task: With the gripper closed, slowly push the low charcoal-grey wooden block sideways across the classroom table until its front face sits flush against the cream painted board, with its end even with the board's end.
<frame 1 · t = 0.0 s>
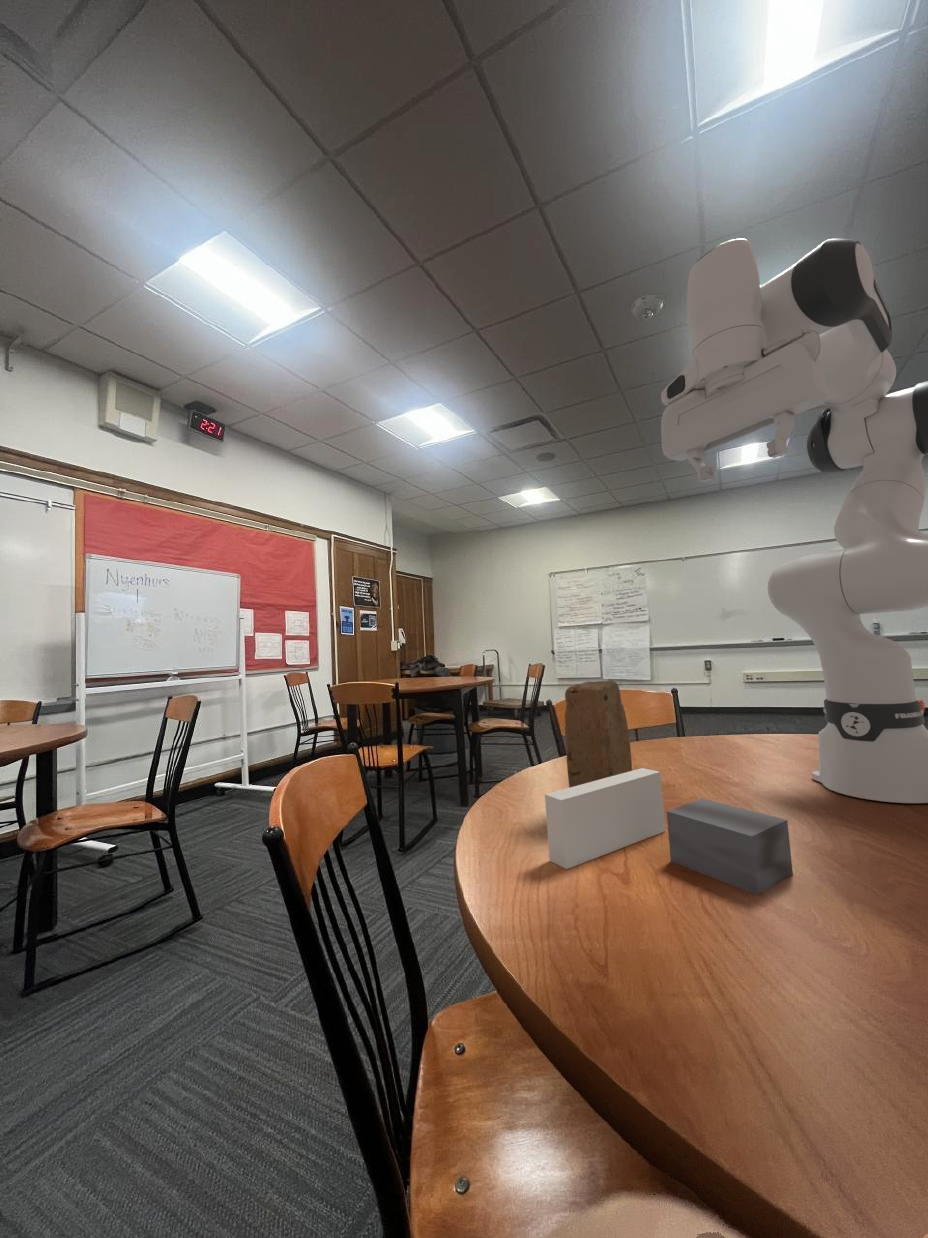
hand: (739, 468, 64), 48 cm above the table, tool pointing down, fingers open, 8 cm apart
charcoal block: (729, 869, 55), on the table
cream board: (610, 845, 63), on the table
block: (604, 810, 76), on the table
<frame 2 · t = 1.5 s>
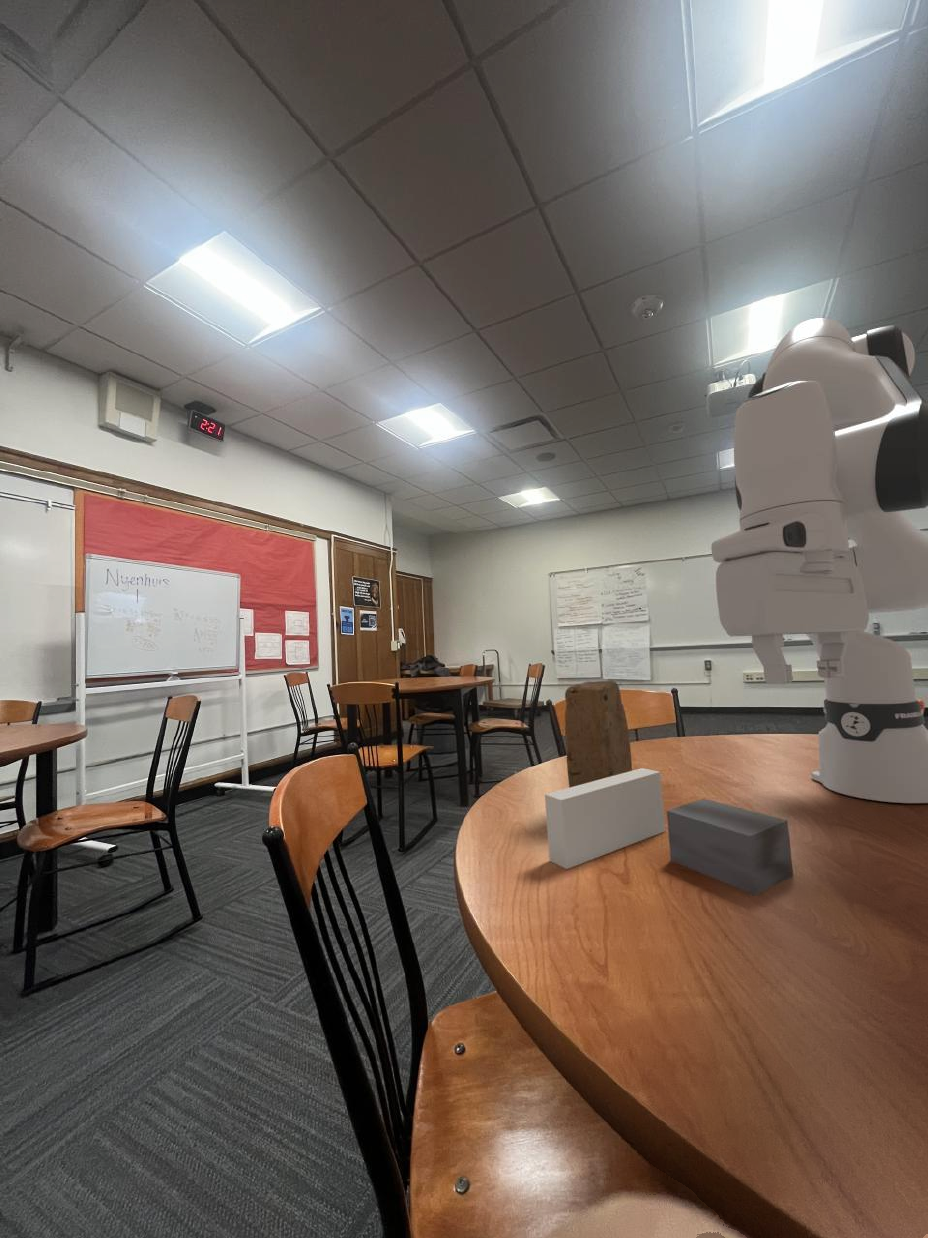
hand: (806, 680, 48), 21 cm above the table, tool pointing down, fingers open, 8 cm apart
nothing on the table moved.
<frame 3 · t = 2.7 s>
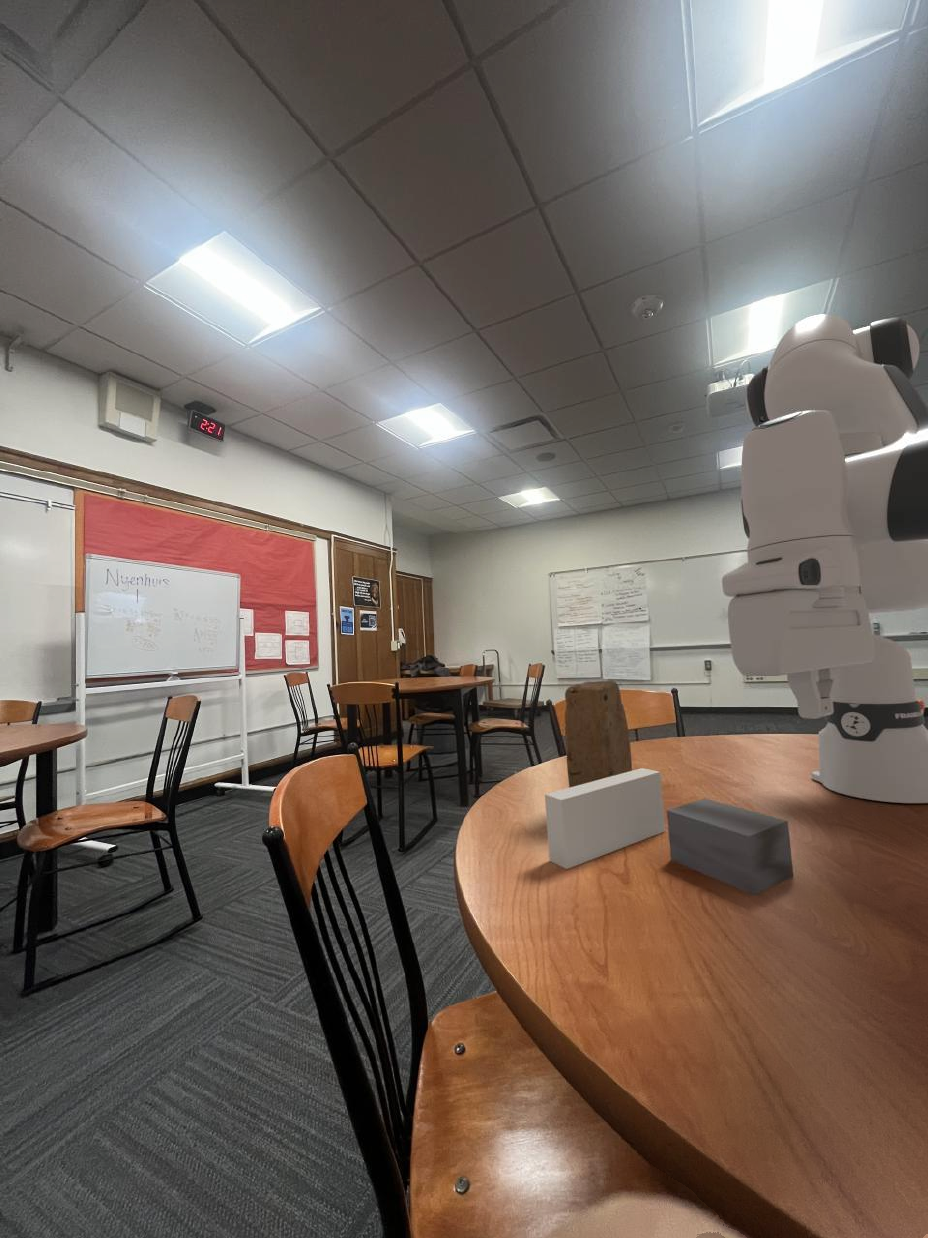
hand: (816, 716, 47), 18 cm above the table, tool pointing down, fingers closed
nothing on the table moved.
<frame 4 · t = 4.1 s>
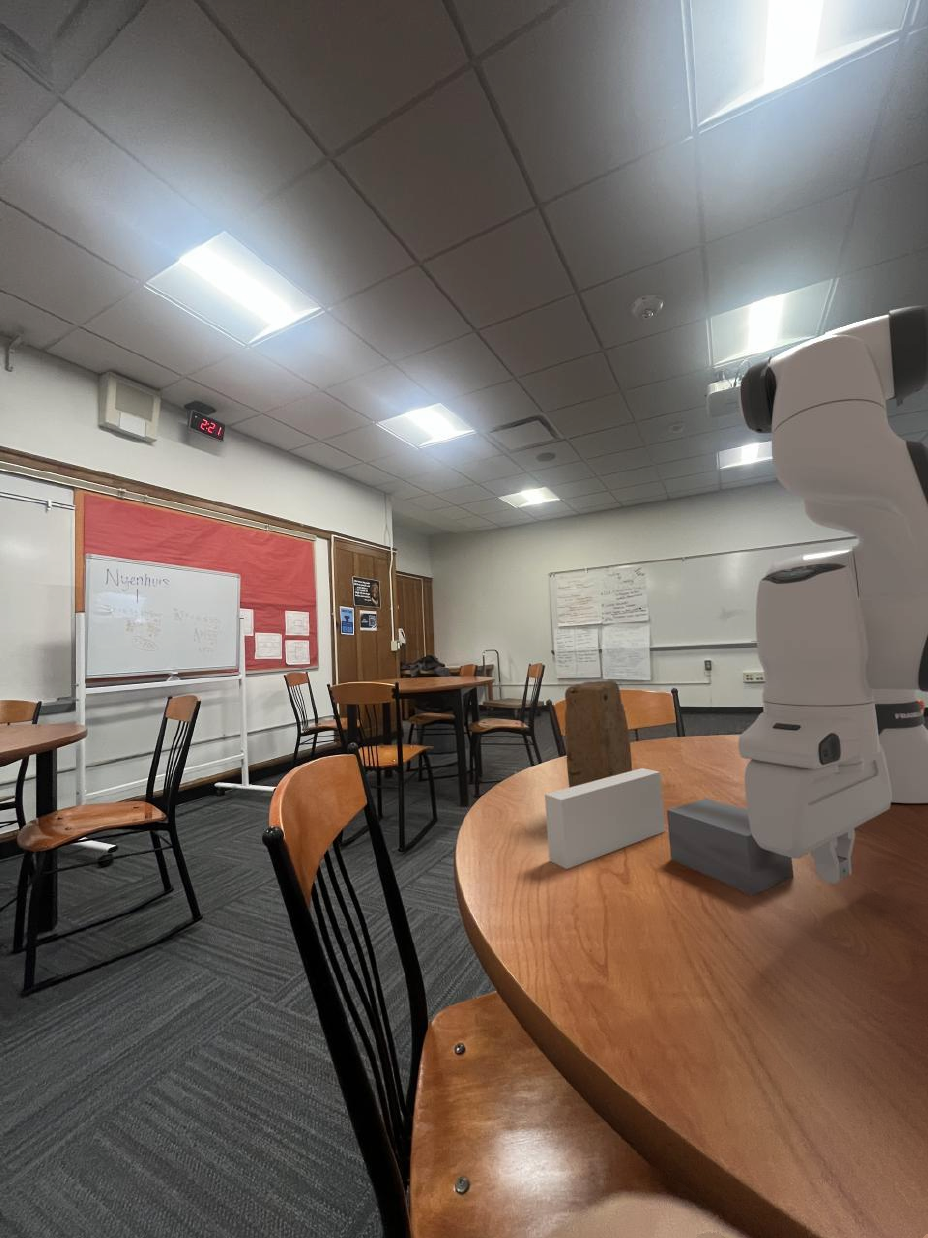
hand: (834, 877, 46), 3 cm above the table, tool pointing down, fingers closed
nothing on the table moved.
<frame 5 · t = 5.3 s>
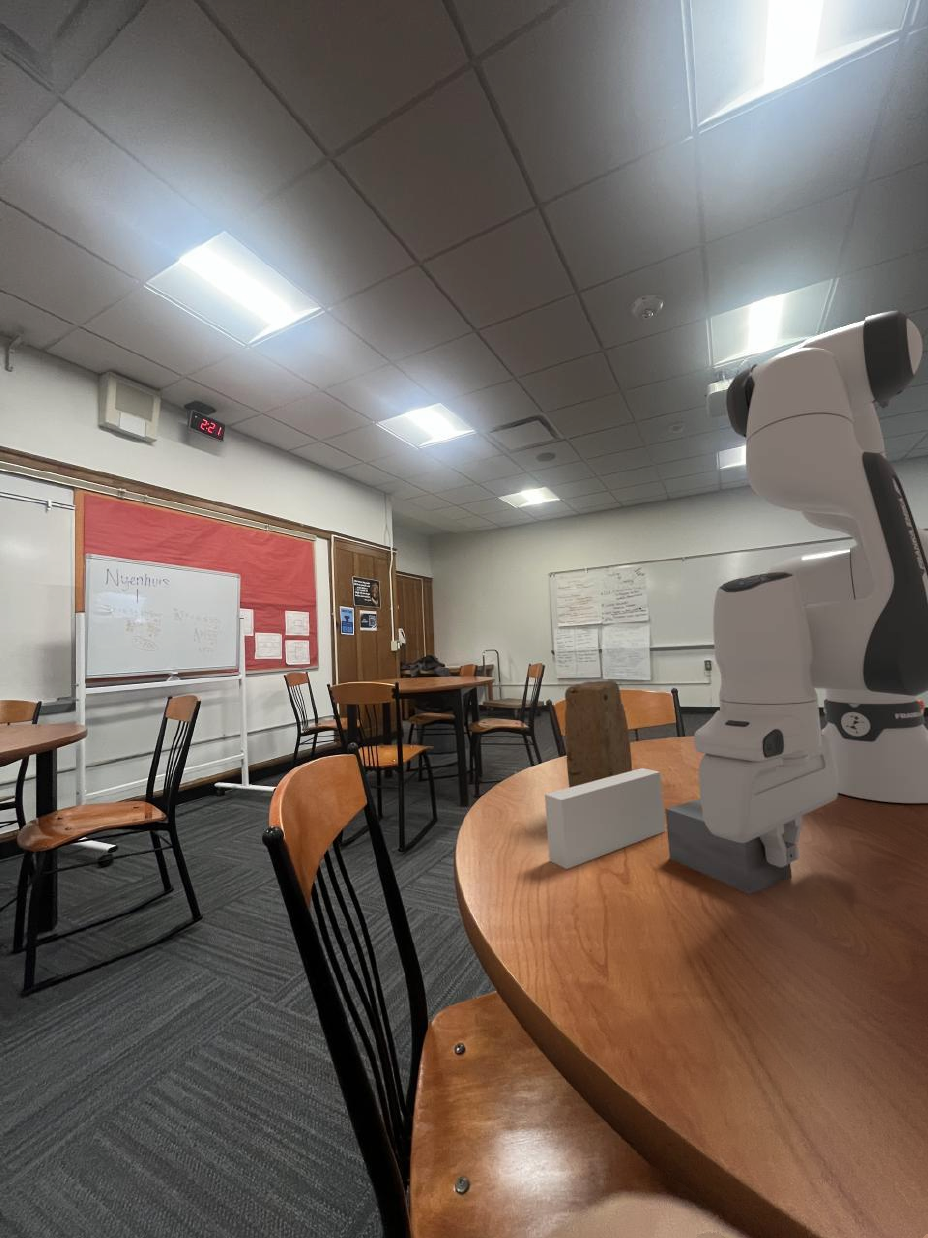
hand: (782, 861, 50), 3 cm above the table, tool pointing down, fingers closed
charcoal block: (727, 868, 55), on the table, touching gripper
everything else where it was.
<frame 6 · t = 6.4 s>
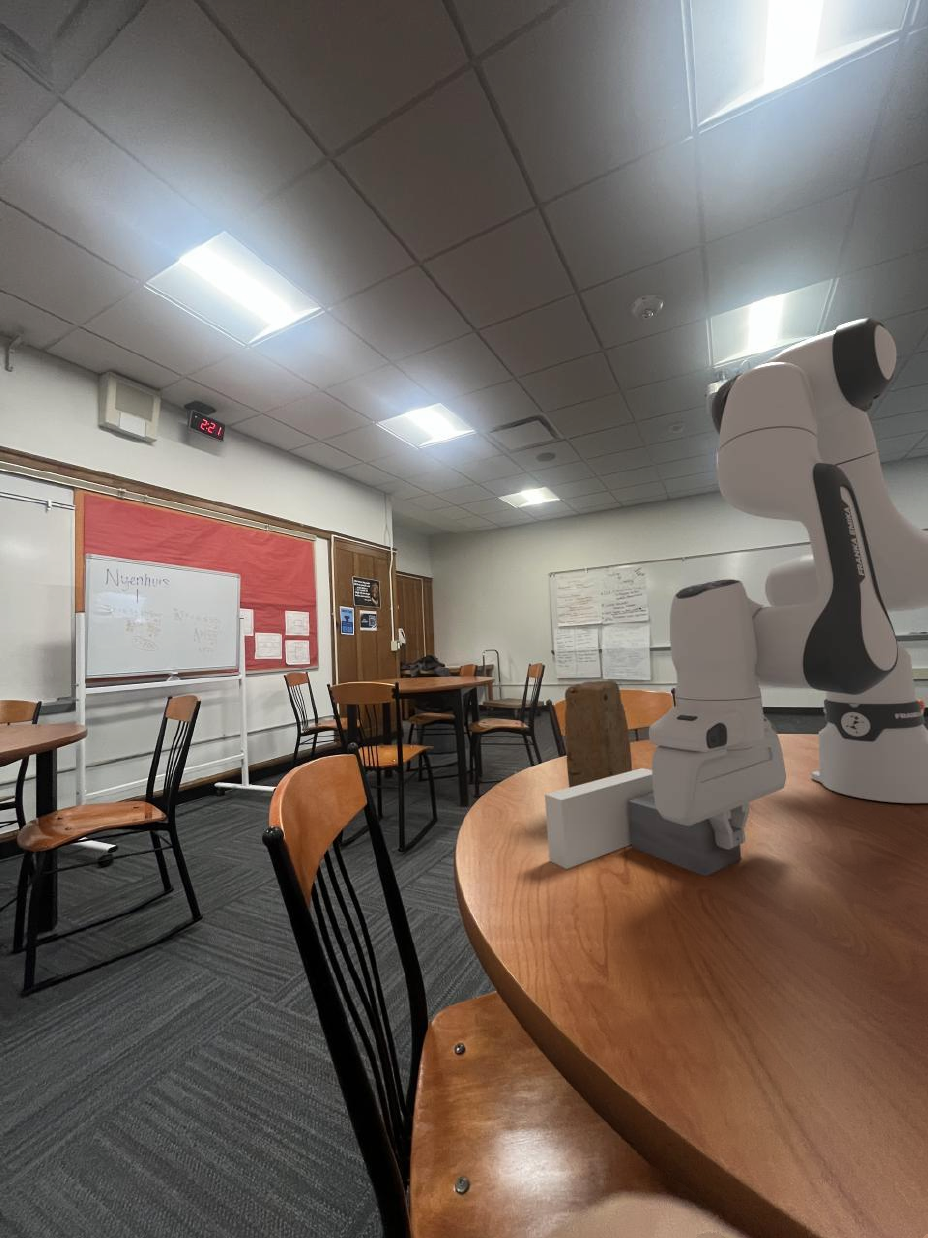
hand: (730, 845, 55), 3 cm above the table, tool pointing down, fingers closed
charcoal block: (684, 854, 59), on the table
everything else where it was.
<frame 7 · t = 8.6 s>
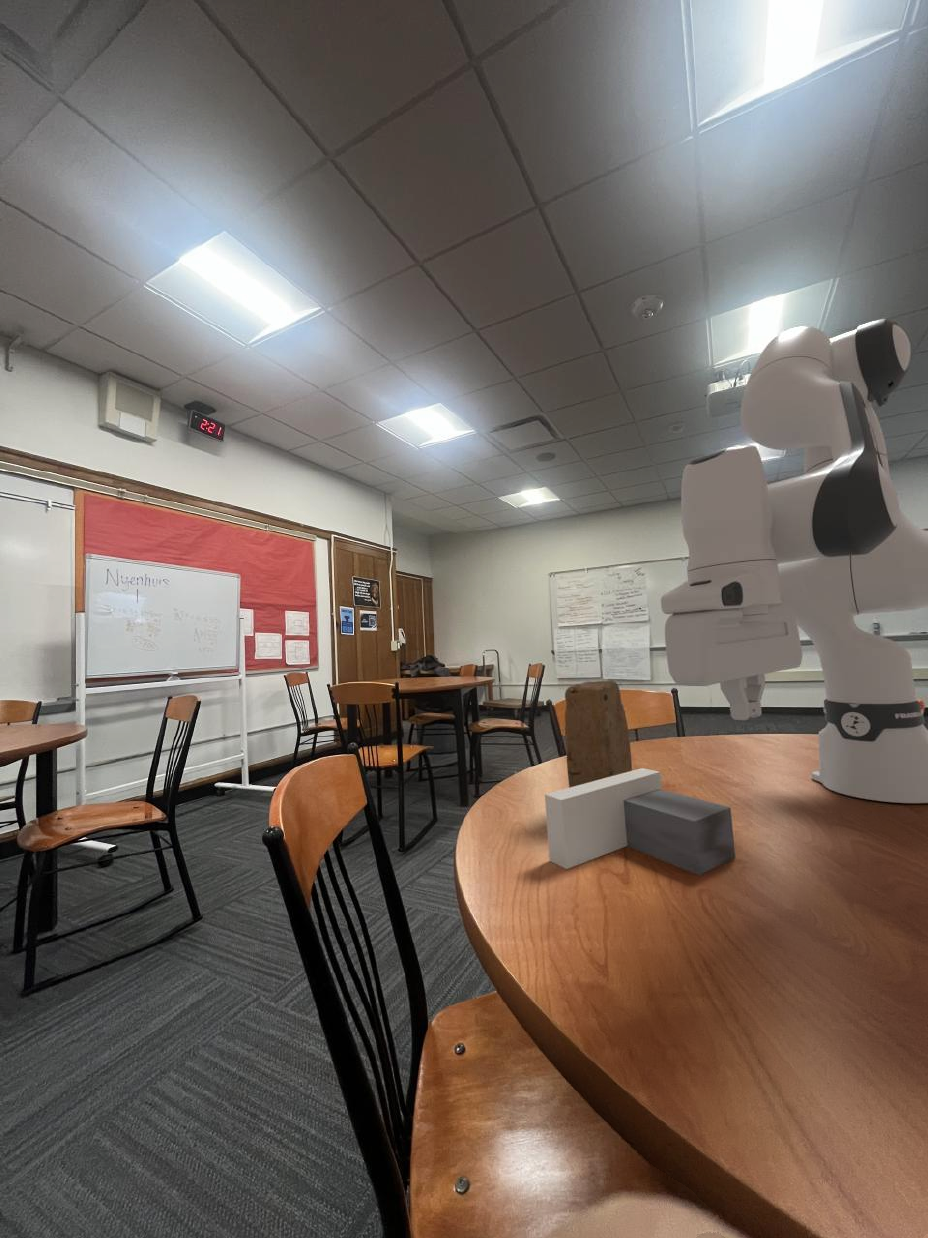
hand: (746, 718, 53), 17 cm above the table, tool pointing down, fingers closed
nothing on the table moved.
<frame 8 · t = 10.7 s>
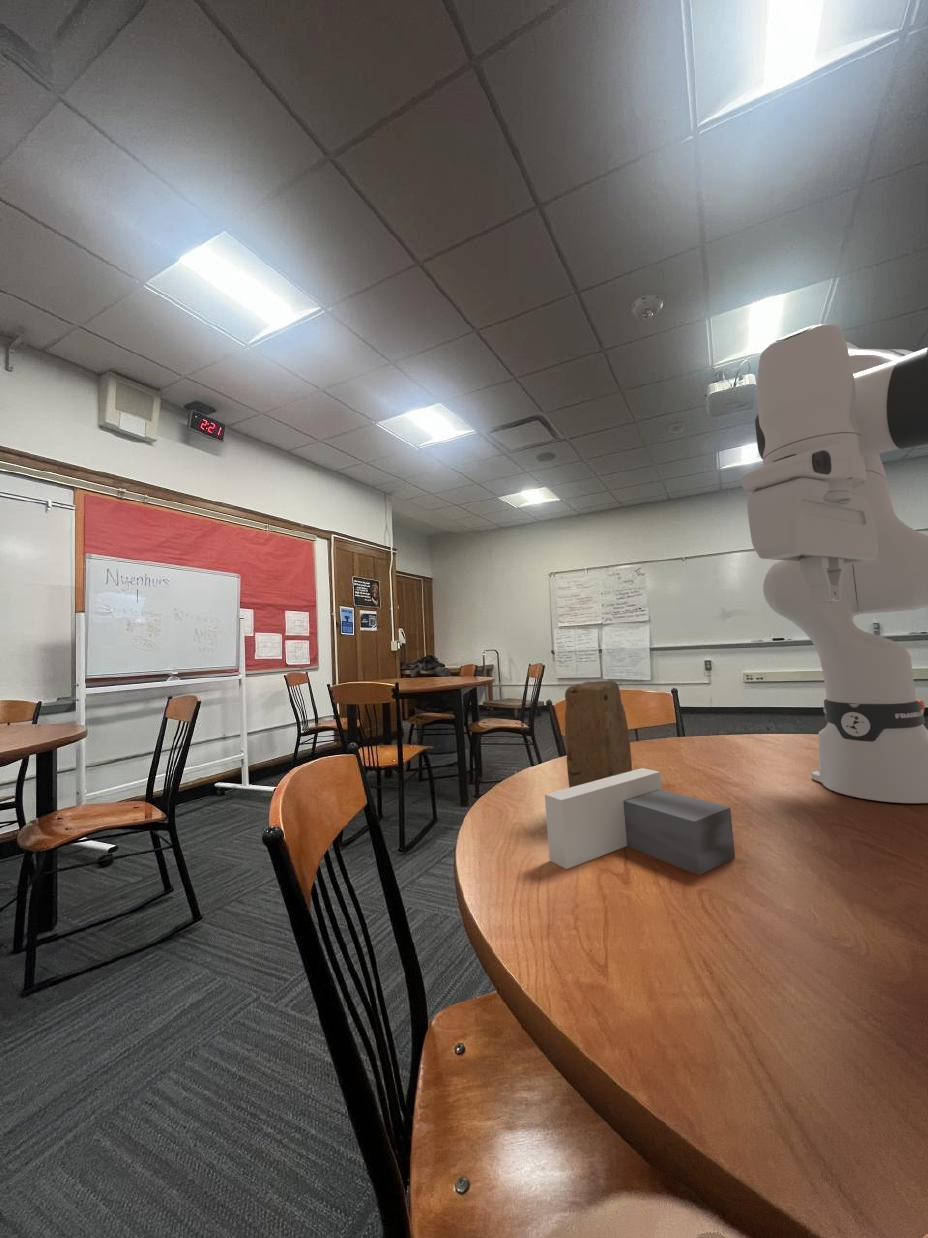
hand: (826, 602, 52), 29 cm above the table, tool pointing down, fingers closed
charcoal block: (679, 853, 60), on the table, touching cream board
everything else where it was.
at the end: charcoal block 0.6 cm from the target spot on the table beside the cream board, on the table; charcoal block tilted 0° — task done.
